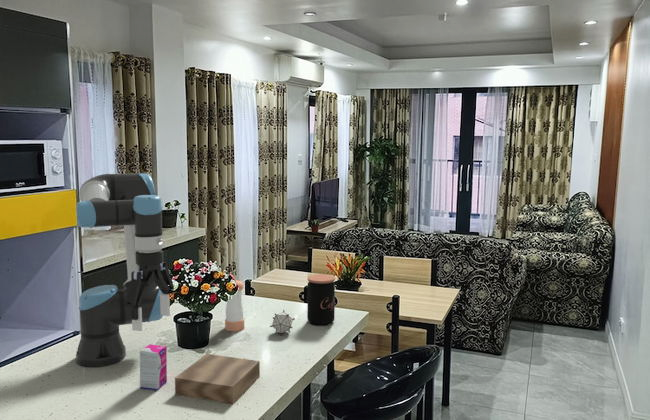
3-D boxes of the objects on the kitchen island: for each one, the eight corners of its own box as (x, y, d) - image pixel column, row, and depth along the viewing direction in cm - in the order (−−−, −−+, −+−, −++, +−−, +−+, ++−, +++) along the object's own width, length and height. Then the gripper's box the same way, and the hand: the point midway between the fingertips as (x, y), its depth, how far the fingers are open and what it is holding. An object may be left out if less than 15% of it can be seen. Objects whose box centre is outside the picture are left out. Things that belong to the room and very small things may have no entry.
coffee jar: (322, 328, 209) (322, 282, 207) (301, 322, 216) (301, 277, 214) (339, 321, 218) (340, 277, 215) (319, 315, 224) (319, 272, 222)
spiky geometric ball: (278, 343, 204) (262, 325, 200) (282, 328, 211) (267, 310, 208) (298, 335, 201) (282, 316, 197) (301, 320, 208) (286, 301, 205)
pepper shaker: (248, 328, 209) (247, 279, 206) (231, 332, 204) (230, 282, 201) (238, 323, 214) (237, 275, 212) (221, 327, 210) (220, 278, 207)
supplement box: (158, 391, 158) (157, 352, 156) (139, 389, 159) (138, 351, 157) (168, 382, 163) (166, 345, 162) (149, 380, 164) (148, 343, 163)
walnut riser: (175, 394, 156) (174, 377, 155) (206, 368, 173) (206, 353, 172) (233, 404, 150) (232, 386, 150) (259, 376, 168) (259, 361, 167)
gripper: (133, 260, 143) (136, 338, 145) (184, 242, 166) (186, 310, 169) (108, 258, 145) (112, 335, 147) (162, 241, 168) (165, 308, 171)
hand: (151, 322), depth 158 cm, fingers open, 13 cm apart
